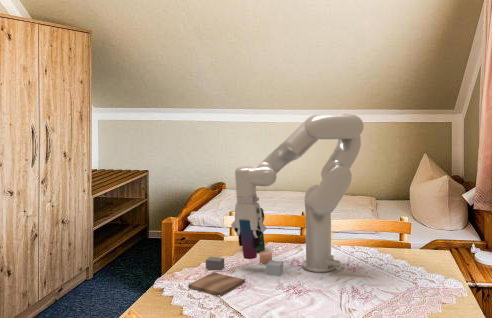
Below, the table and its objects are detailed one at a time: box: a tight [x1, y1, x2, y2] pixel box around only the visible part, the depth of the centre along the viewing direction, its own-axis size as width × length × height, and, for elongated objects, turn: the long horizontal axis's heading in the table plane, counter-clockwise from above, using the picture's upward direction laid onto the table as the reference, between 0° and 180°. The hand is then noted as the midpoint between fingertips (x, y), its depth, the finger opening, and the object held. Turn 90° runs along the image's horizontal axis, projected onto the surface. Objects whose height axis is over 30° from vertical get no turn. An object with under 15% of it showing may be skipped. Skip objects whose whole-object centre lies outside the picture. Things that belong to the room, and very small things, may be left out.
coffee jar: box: [257, 207, 266, 253], centre depth 202 cm, size 10×8×19 cm
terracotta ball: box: [258, 250, 273, 265], centre depth 186 cm, size 5×5×4 cm
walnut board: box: [187, 271, 246, 297], centre depth 164 cm, size 14×14×1 cm
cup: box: [239, 220, 258, 260], centre depth 178 cm, size 7×7×15 cm
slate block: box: [266, 259, 284, 277], centre depth 175 cm, size 5×5×4 cm
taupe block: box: [205, 256, 225, 271], centre depth 180 cm, size 6×4×4 cm, turn 71°
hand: (249, 245), depth 178 cm, fingers closed on cup, 6 cm apart
